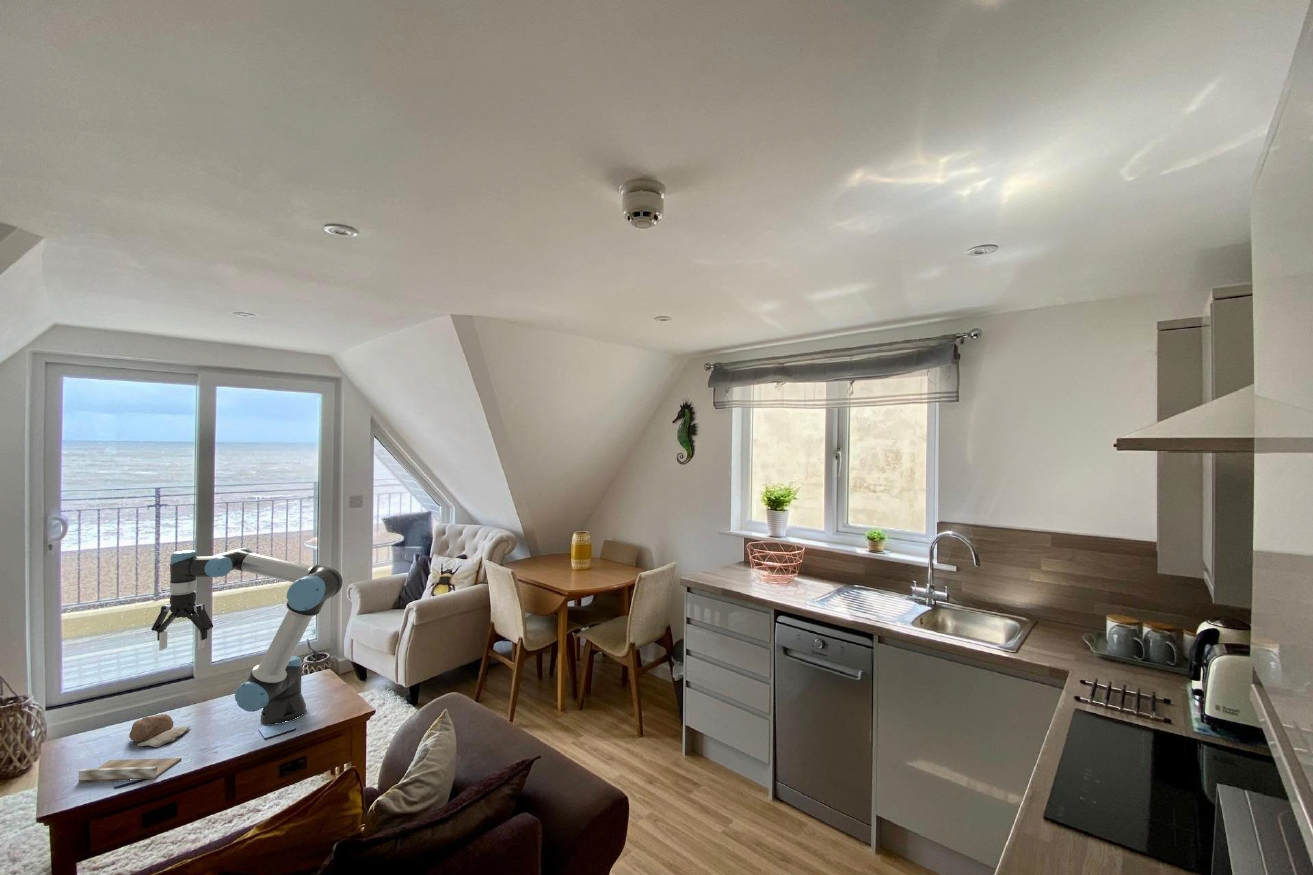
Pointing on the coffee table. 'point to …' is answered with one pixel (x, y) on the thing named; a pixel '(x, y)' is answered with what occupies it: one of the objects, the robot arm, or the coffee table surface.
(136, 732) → the stone
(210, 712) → the coffee table surface
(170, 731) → the artifact
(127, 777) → the plank
